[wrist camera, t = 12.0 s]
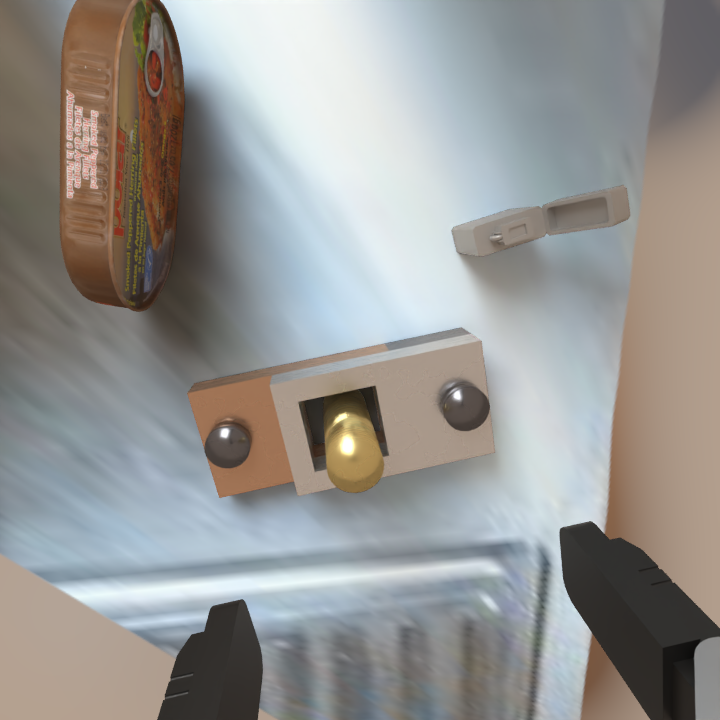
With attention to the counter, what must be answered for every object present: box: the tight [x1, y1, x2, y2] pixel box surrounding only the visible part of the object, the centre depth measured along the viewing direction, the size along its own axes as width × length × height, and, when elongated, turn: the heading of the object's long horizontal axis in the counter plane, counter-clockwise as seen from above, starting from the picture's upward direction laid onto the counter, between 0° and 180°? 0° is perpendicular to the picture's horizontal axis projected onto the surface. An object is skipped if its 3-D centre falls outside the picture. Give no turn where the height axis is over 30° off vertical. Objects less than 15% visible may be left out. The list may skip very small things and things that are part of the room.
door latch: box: [187, 328, 495, 498], centre depth 31 cm, size 8×18×5 cm, turn 101°
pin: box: [323, 389, 384, 493], centre depth 30 cm, size 3×3×9 cm
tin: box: [60, 0, 185, 312], centre depth 25 cm, size 15×3×8 cm, turn 171°
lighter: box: [452, 185, 630, 257], centre depth 28 cm, size 7×2×8 cm, turn 107°
